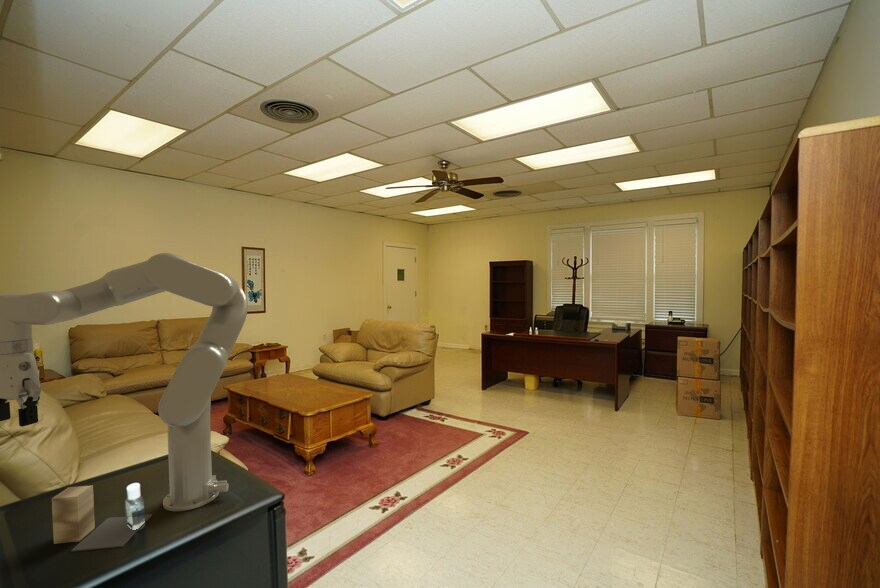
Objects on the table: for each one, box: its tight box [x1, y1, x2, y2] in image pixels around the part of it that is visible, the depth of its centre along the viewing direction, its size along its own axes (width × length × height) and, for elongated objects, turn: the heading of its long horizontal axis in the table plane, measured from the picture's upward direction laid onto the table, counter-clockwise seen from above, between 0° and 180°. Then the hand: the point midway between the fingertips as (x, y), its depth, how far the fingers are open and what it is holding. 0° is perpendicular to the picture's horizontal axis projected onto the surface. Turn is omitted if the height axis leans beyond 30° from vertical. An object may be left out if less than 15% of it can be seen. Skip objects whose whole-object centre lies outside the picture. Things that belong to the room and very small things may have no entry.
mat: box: [71, 513, 153, 552], centre depth 95 cm, size 10×12×1 cm
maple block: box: [51, 485, 96, 545], centre depth 93 cm, size 5×5×10 cm
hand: (14, 422), depth 95 cm, fingers open, 9 cm apart
